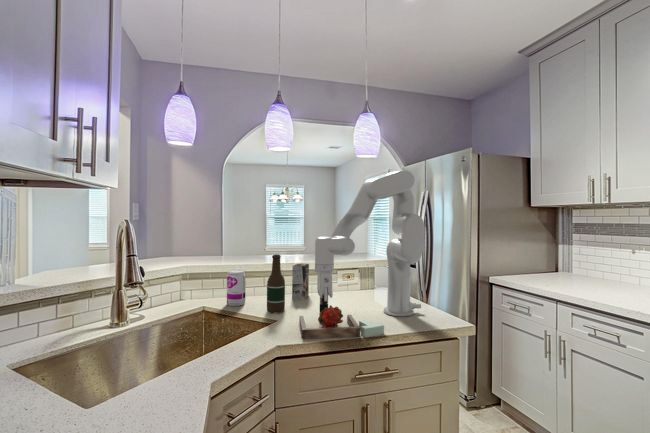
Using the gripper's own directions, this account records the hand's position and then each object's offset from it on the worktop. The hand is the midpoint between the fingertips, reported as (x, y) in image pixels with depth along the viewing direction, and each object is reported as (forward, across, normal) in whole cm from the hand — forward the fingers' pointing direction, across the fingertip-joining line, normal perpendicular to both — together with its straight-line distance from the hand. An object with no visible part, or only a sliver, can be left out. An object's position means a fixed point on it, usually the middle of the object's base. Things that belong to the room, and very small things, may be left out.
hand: (323, 313), depth 141 cm
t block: (+2, -17, -14) cm, 22 cm away
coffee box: (+2, +36, +6) cm, 36 cm away
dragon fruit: (+2, -11, -1) cm, 11 cm away
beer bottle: (+2, +13, +19) cm, 23 cm away
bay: (+2, -13, 0) cm, 13 cm away
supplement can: (+2, +25, +36) cm, 44 cm away
